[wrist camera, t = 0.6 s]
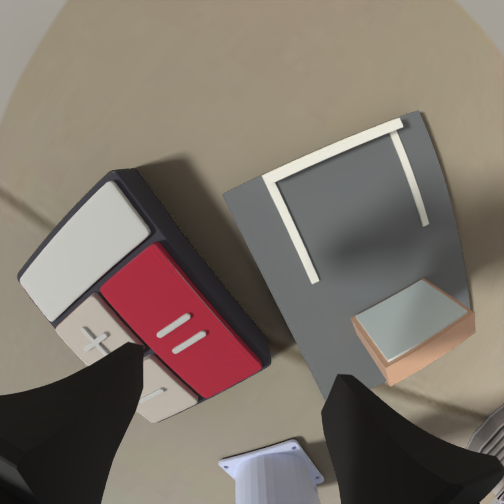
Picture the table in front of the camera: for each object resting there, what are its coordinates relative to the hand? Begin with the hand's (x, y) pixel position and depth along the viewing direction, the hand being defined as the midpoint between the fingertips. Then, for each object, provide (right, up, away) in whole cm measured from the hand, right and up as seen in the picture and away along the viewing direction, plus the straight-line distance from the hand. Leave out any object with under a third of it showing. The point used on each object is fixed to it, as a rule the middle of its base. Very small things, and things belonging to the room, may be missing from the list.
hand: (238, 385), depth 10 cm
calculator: (-7, +1, +10) cm, 12 cm away
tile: (+10, +1, +9) cm, 14 cm away
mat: (+9, +3, +9) cm, 13 cm away
